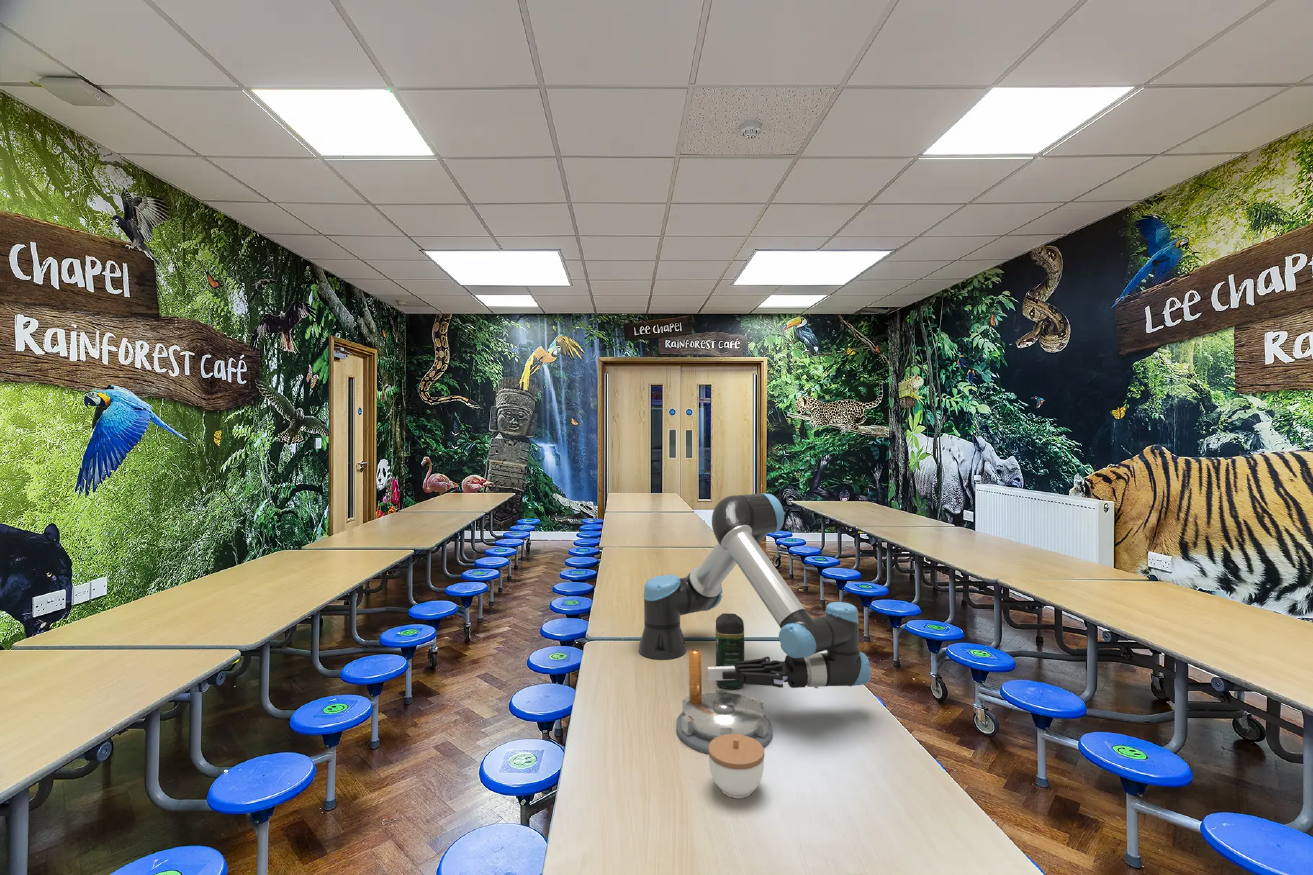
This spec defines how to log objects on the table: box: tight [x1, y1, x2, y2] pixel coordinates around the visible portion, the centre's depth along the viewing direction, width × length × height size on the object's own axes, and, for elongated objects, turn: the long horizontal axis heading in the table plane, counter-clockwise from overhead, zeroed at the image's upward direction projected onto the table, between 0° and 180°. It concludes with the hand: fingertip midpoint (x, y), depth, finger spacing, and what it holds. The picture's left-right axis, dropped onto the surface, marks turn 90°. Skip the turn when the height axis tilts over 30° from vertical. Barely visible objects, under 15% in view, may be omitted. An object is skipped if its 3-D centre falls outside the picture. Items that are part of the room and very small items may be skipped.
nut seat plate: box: [676, 712, 773, 755], centre depth 128 cm, size 22×22×2 cm
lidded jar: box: [708, 734, 765, 799], centre depth 106 cm, size 11×11×9 cm
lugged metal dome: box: [681, 648, 769, 741], centre depth 128 cm, size 21×19×15 cm
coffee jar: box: [715, 612, 745, 690], centre depth 154 cm, size 10×8×19 cm
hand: (708, 673), depth 133 cm, fingers closed
